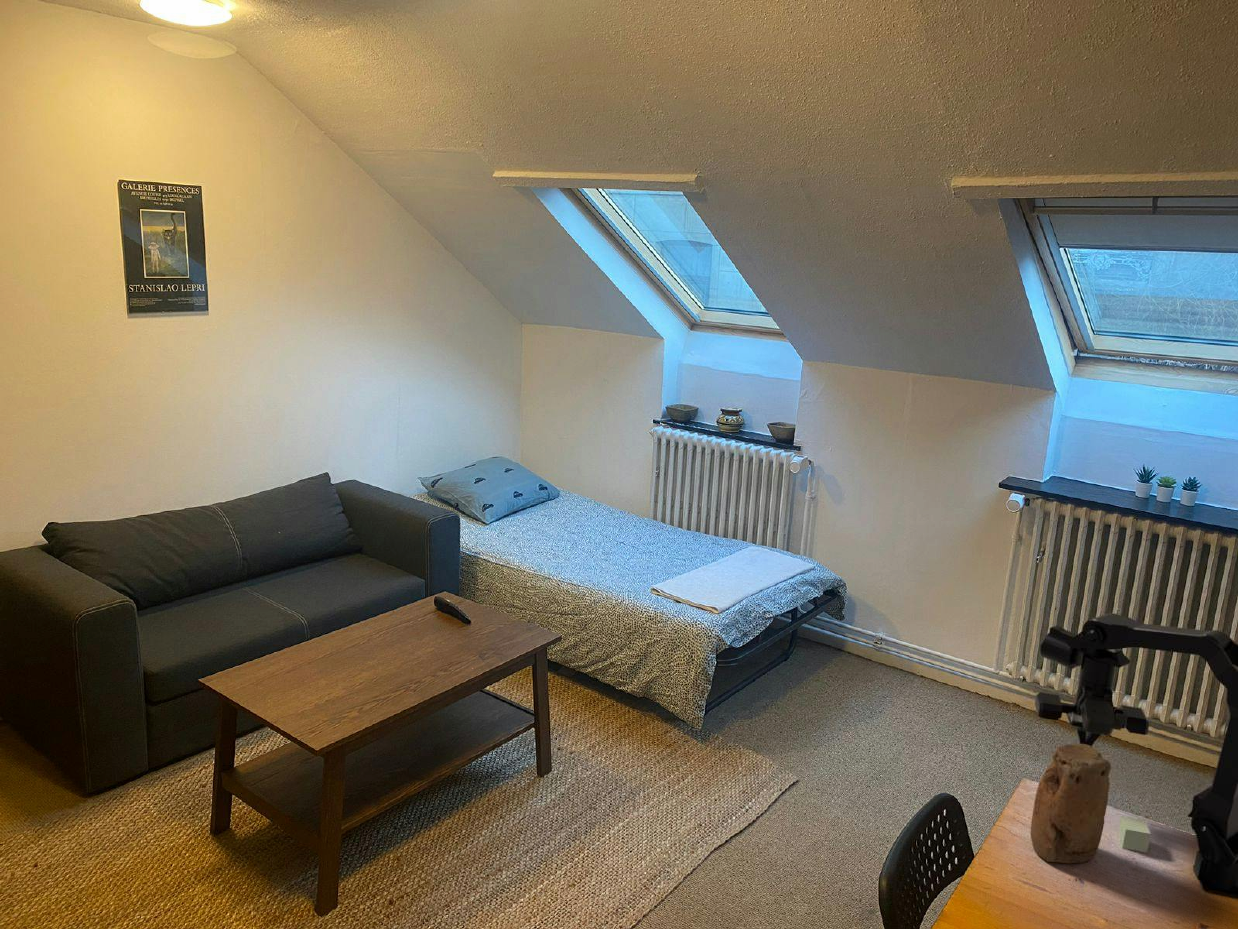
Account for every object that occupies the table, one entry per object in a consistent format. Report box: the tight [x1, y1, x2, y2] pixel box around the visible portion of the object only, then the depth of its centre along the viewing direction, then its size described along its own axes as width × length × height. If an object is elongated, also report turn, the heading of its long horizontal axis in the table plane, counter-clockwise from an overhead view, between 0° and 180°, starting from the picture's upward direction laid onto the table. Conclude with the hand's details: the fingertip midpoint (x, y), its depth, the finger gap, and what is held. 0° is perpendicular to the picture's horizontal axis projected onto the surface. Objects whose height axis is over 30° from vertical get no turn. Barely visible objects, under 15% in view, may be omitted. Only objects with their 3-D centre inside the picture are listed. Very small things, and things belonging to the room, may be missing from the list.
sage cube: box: [1117, 816, 1151, 853], centre depth 167 cm, size 4×4×4 cm
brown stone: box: [1030, 743, 1112, 864], centre depth 162 cm, size 11×8×20 cm
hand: (1083, 753), depth 176 cm, fingers closed
